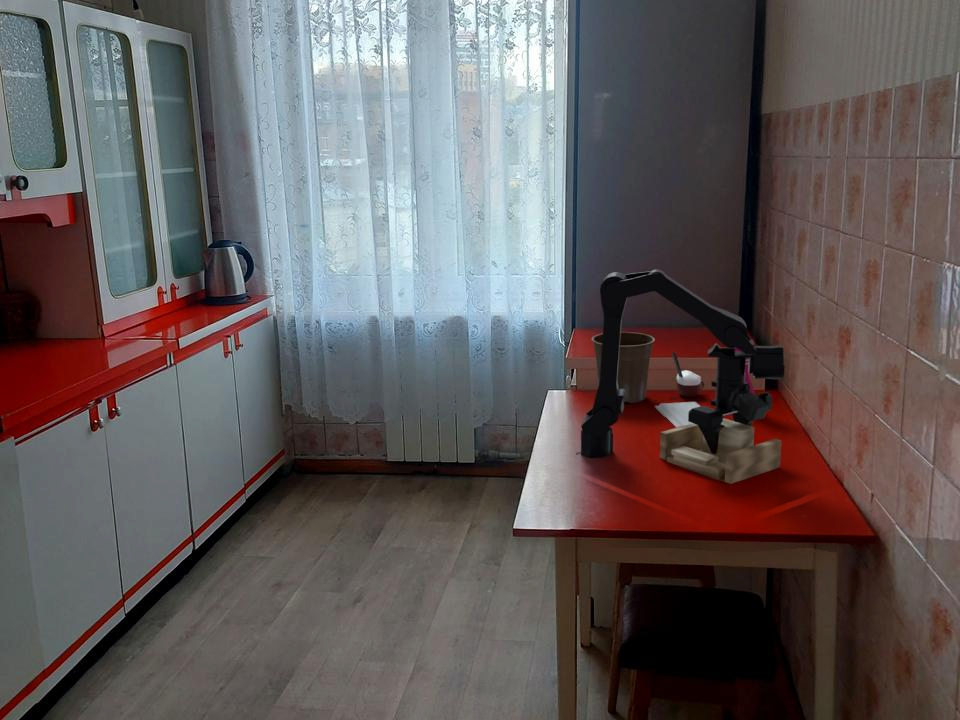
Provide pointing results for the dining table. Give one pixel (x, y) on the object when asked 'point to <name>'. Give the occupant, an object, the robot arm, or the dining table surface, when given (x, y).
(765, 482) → the dining table surface
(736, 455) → the rack
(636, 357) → the plant pot
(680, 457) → the offcut stack
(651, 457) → the dining table surface
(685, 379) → the cocoa
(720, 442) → the beige wooden block
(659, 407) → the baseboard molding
